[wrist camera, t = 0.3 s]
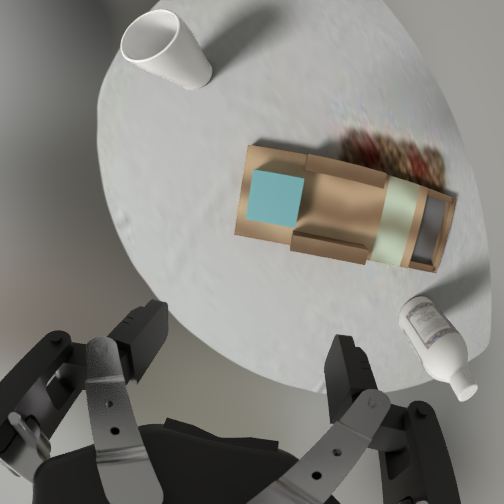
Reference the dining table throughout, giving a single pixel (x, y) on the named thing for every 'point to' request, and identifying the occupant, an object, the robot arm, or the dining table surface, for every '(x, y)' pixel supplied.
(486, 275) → the dining table surface
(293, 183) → the block
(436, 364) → the bath foam
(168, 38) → the drinking glass
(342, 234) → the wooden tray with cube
